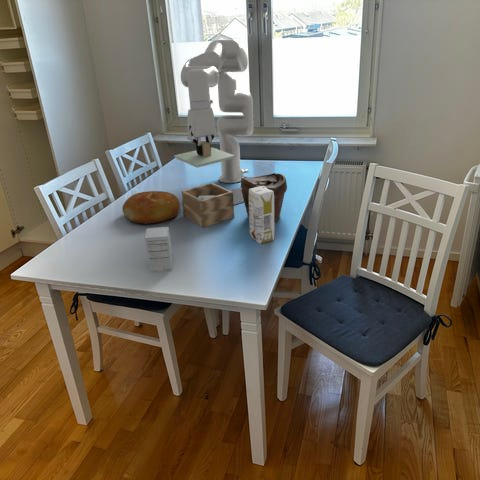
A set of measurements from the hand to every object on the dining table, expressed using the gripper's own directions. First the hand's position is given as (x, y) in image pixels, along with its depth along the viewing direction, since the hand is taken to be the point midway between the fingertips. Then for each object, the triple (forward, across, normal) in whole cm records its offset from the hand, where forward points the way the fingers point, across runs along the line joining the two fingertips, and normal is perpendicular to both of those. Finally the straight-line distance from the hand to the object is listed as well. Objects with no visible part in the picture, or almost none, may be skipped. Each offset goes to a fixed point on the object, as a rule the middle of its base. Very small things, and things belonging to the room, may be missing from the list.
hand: (204, 153), depth 170 cm
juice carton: (+27, -4, +30) cm, 40 cm away
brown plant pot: (+27, -17, +16) cm, 35 cm away
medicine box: (+27, 0, 0) cm, 27 cm away
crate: (+27, 0, 0) cm, 27 cm away
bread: (+27, +17, -17) cm, 36 cm away
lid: (+2, 0, 0) cm, 2 cm away
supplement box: (+26, +34, +24) cm, 50 cm away
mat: (+27, -21, -11) cm, 35 cm away
